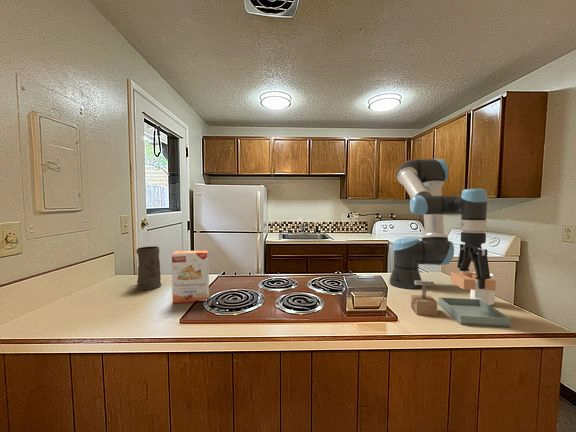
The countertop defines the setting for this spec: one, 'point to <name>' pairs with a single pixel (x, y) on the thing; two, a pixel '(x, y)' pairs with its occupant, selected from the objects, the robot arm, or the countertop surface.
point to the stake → (423, 301)
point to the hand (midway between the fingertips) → (471, 292)
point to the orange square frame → (470, 281)
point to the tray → (474, 312)
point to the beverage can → (488, 294)
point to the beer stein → (148, 268)
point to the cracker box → (190, 276)
